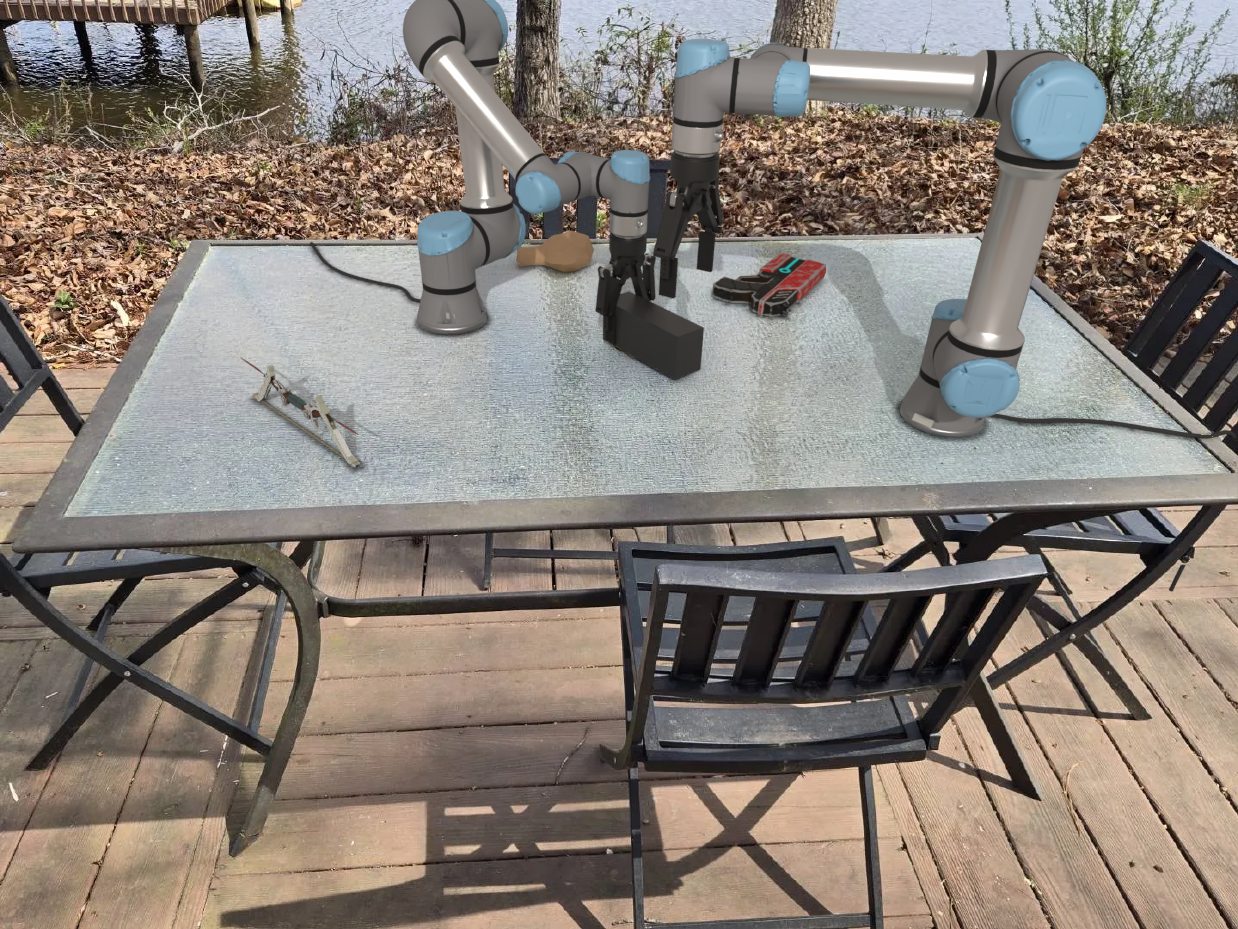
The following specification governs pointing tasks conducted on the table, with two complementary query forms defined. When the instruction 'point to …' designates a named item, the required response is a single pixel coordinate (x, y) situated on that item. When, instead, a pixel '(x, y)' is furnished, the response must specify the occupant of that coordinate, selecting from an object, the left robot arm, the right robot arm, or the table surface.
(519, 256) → the squash
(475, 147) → the left robot arm
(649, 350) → the box
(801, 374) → the table surface
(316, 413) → the bow
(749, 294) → the gun
